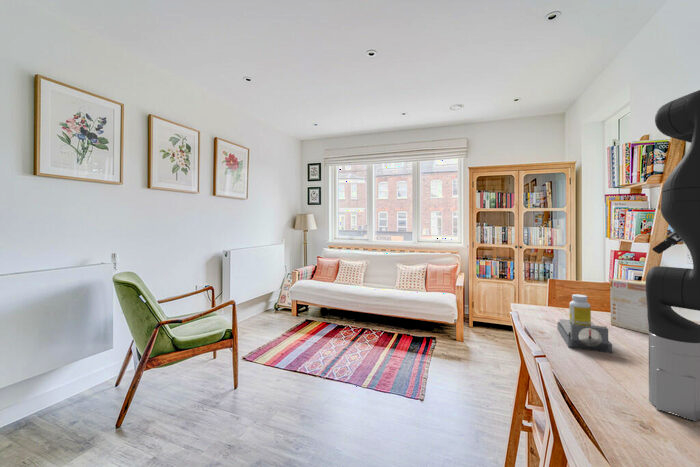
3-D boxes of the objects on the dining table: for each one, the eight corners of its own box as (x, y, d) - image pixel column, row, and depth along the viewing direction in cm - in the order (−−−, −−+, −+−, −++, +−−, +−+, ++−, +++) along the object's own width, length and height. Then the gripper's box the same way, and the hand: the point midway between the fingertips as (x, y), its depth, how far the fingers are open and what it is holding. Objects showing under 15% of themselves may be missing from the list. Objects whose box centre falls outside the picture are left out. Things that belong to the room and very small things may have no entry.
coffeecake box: (666, 333, 115) (666, 283, 114) (656, 336, 112) (656, 285, 112) (619, 322, 129) (619, 277, 128) (609, 324, 126) (609, 279, 125)
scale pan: (606, 339, 102) (606, 336, 102) (568, 335, 107) (568, 332, 107) (592, 325, 117) (592, 322, 117) (559, 321, 122) (559, 319, 122)
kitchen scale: (612, 353, 99) (612, 330, 98) (568, 348, 104) (568, 325, 104) (593, 333, 117) (593, 313, 117) (557, 329, 122) (557, 310, 122)
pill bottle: (594, 328, 110) (594, 297, 110) (575, 328, 111) (574, 297, 111) (584, 323, 116) (584, 293, 116) (566, 322, 117) (565, 293, 117)
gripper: (699, 204, 91) (647, 240, 100) (699, 203, 82) (641, 243, 91) (727, 221, 87) (670, 257, 96) (730, 221, 78) (667, 261, 87)
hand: (656, 250), depth 94 cm, fingers open, 8 cm apart
